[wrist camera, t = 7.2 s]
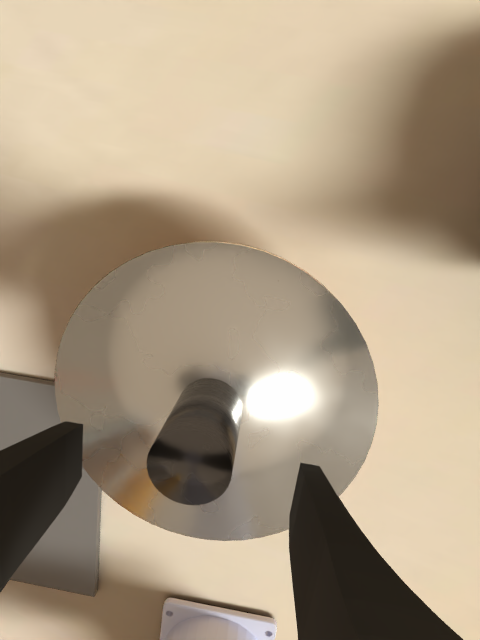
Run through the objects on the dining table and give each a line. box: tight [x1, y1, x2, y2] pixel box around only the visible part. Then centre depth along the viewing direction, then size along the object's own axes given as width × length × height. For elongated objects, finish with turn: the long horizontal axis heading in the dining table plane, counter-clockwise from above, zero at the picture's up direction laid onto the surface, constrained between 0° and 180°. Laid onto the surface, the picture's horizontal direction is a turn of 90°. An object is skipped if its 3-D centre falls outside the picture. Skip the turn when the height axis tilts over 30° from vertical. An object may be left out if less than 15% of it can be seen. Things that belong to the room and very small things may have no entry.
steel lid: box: [55, 242, 378, 541], centre depth 14 cm, size 14×14×5 cm
